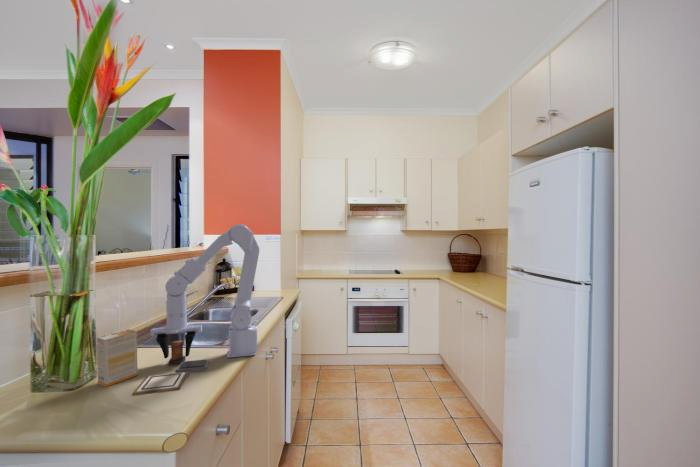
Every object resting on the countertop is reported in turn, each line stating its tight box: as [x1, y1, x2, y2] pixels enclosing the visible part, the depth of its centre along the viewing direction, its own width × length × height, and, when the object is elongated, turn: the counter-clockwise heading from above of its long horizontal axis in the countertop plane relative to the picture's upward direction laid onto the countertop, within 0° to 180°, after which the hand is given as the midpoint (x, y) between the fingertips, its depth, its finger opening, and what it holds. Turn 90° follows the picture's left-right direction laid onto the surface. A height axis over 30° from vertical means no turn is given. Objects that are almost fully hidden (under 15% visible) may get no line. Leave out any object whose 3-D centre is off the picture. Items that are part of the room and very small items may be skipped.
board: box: [131, 372, 190, 396], centre depth 88 cm, size 11×10×1 cm
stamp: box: [167, 340, 187, 366], centre depth 103 cm, size 4×4×6 cm
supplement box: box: [96, 328, 138, 388], centre depth 91 cm, size 8×5×13 cm, turn 150°
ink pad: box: [175, 358, 210, 373], centre depth 98 cm, size 8×6×1 cm
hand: (177, 356), depth 103 cm, fingers open, 5 cm apart
